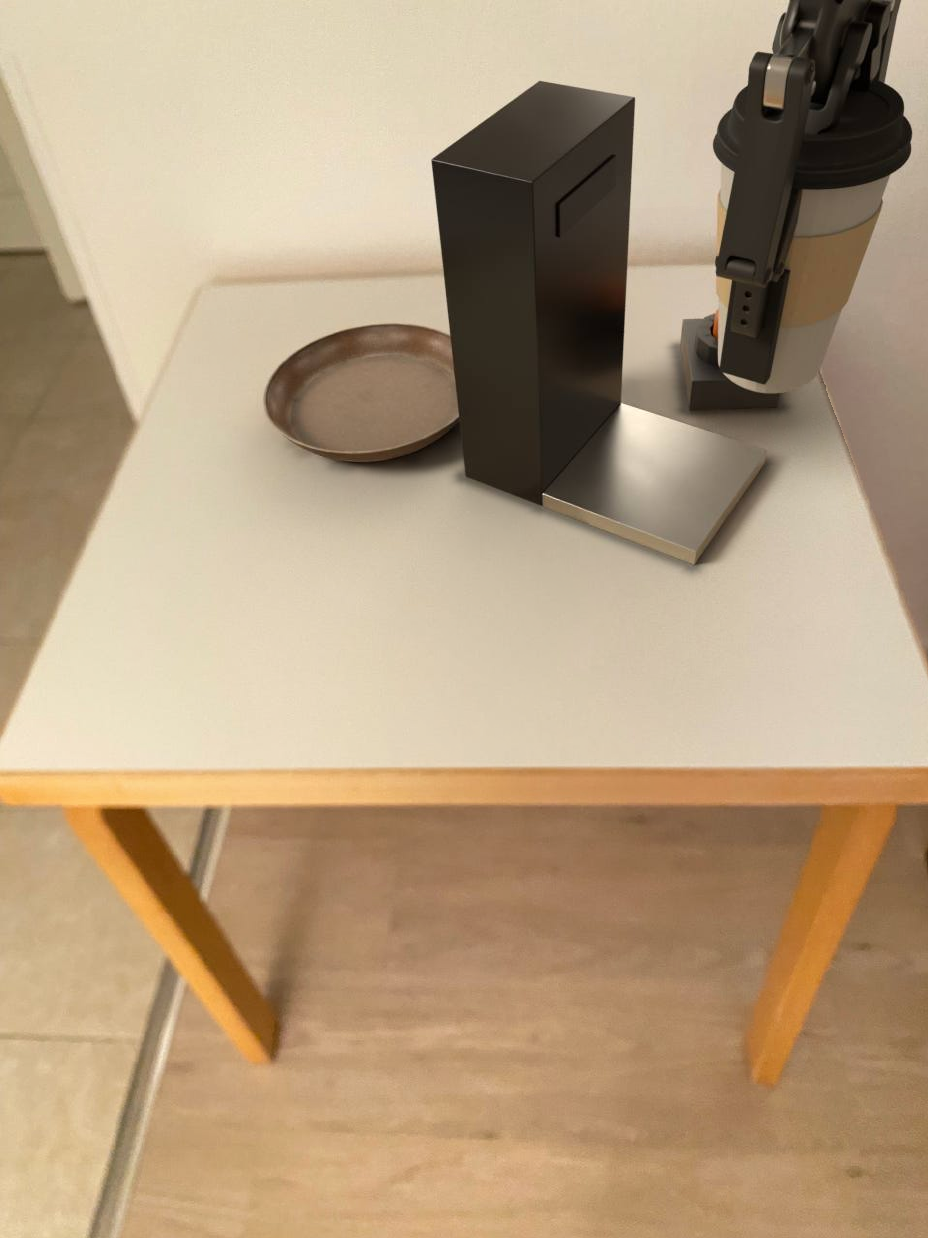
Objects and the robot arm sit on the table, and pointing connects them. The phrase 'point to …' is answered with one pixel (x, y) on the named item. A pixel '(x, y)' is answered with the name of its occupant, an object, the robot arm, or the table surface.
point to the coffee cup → (821, 222)
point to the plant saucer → (366, 392)
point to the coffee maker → (565, 327)
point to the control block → (712, 372)
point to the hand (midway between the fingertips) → (775, 333)
